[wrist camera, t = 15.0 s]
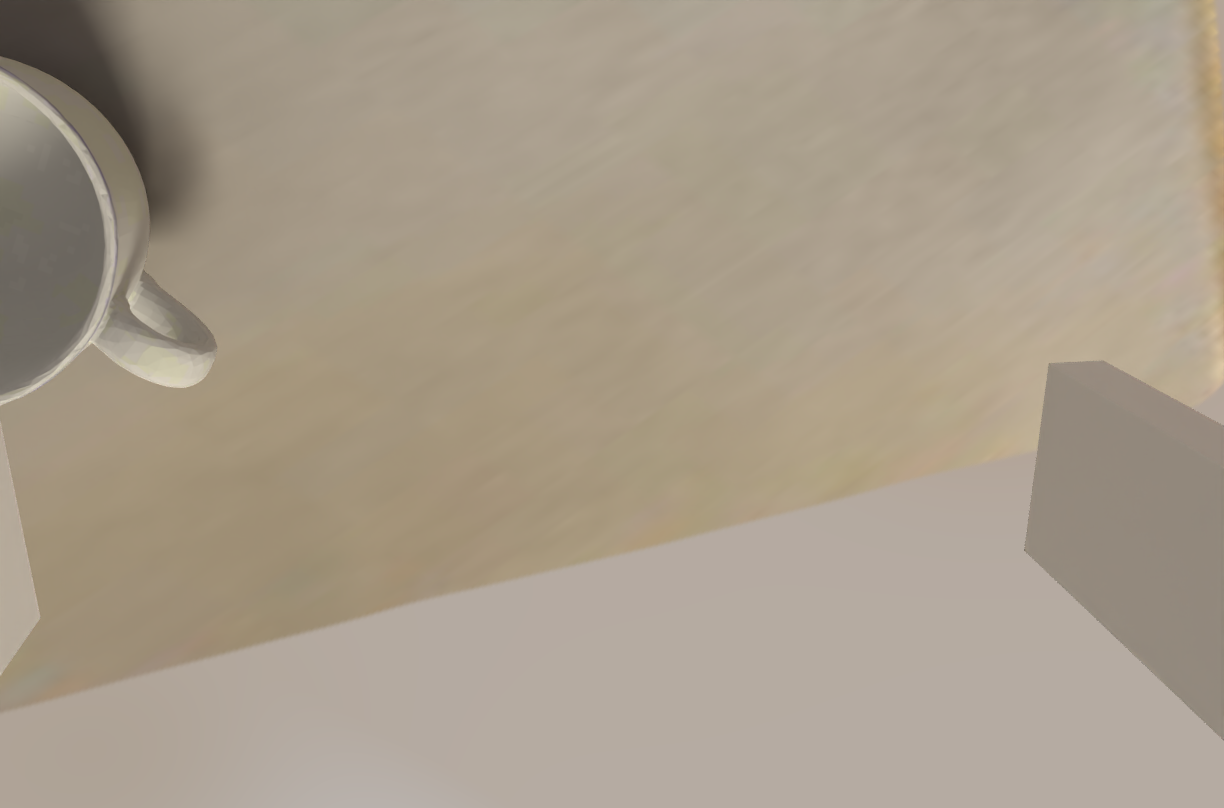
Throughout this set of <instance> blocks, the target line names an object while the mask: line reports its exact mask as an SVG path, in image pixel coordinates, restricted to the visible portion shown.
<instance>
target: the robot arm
mask: <svg viewBox="0 0 1224 808" xmlns="http://www.w3.org/2000/svg"><path fill="white" fill-rule="evenodd" d="M1024 551H1025V552H1026V553H1028V555H1029V556H1030V557H1032V558H1033V559H1034V560H1035V561H1036V562H1037V563H1038V564H1039V565H1040V566H1041V567H1042V568H1043V569H1044V570H1045V571H1046V572H1047V573H1048V574H1049V575H1050V576H1051V577H1053V578H1054V579H1055V580H1056V581H1057V582H1058V583H1059V584H1060V585H1061V586H1062V587H1063V588H1064V589H1065V590H1066V591H1068V593H1069V594H1070V595H1071V596H1073V597H1074V598H1075V599H1076V600H1077V601H1078V602H1079V603H1080V604H1081V605H1082V606H1083V607H1084V608H1085V609H1086V610H1087V611H1088V612H1089V613H1090V614H1091V615H1092V616H1094V617H1095V618H1096V619H1097V620H1098V621H1099V622H1100V623H1101V624H1102V625H1103V626H1104V627H1105V628H1106V629H1107V630H1108V631H1109V632H1110V633H1111V634H1112V635H1114V636H1115V637H1116V638H1117V639H1118V640H1119V641H1120V642H1121V643H1122V644H1123V645H1124V646H1125V647H1126V648H1127V649H1128V650H1129V651H1130V652H1131V653H1132V654H1133V655H1134V656H1135V657H1137V658H1138V659H1139V660H1140V661H1141V662H1142V663H1143V664H1144V665H1145V666H1146V667H1147V668H1148V669H1149V670H1151V672H1152V673H1153V674H1154V675H1155V676H1157V677H1158V678H1159V679H1160V680H1161V681H1162V682H1163V683H1164V684H1165V685H1166V686H1167V687H1168V688H1169V689H1170V690H1171V691H1172V692H1173V693H1174V694H1175V695H1177V696H1178V697H1179V698H1180V699H1181V700H1182V701H1183V702H1184V703H1185V704H1186V705H1187V706H1188V707H1189V708H1190V709H1191V710H1192V711H1193V712H1194V713H1195V714H1196V715H1197V716H1198V717H1200V718H1201V719H1202V720H1203V721H1204V722H1205V723H1206V724H1207V725H1208V726H1209V727H1210V728H1211V729H1212V730H1213V731H1214V732H1215V733H1216V734H1217V735H1218V736H1220V737H1221V738H1222V739H1223V740H1224V426H1223V425H1221V424H1219V423H1218V422H1216V421H1214V420H1212V419H1210V418H1209V417H1207V416H1205V415H1203V414H1201V413H1199V412H1197V411H1196V410H1194V409H1192V408H1190V407H1188V406H1186V405H1184V404H1183V403H1181V402H1179V401H1177V400H1175V399H1173V398H1171V397H1170V396H1168V395H1166V394H1164V393H1162V392H1160V391H1159V390H1157V389H1155V388H1153V387H1151V386H1149V385H1147V384H1146V383H1144V382H1142V381H1140V380H1138V379H1136V378H1134V377H1133V376H1131V375H1129V374H1127V373H1125V372H1123V371H1122V370H1120V369H1118V368H1116V367H1114V366H1112V365H1110V364H1109V363H1107V362H1105V361H1085V362H1064V363H1049V366H1048V374H1047V381H1046V389H1045V396H1044V404H1043V412H1042V419H1041V427H1040V434H1039V442H1038V450H1037V458H1036V465H1035V473H1034V481H1033V488H1032V496H1031V503H1030V511H1029V519H1028V527H1027V534H1026V541H1025V549H1024ZM39 619H40V613H39V608H38V603H37V599H36V594H35V589H34V584H33V579H32V574H31V569H30V564H29V559H28V554H27V550H26V545H25V540H24V535H23V530H22V525H21V520H20V515H19V510H18V505H17V500H16V496H15V491H14V486H13V481H12V476H11V471H10V466H9V461H8V456H7V451H6V447H5V442H4V437H3V432H2V427H1V422H0V675H1V674H2V673H3V671H4V670H5V668H6V667H7V665H8V664H9V663H10V661H11V660H12V658H13V657H14V655H15V654H16V652H17V651H18V650H19V648H20V647H21V645H22V644H23V642H24V641H25V639H26V638H27V637H28V635H29V634H30V632H31V631H32V629H33V628H34V626H35V625H36V624H37V622H38V621H39Z"/></svg>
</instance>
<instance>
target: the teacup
mask: <svg viewBox="0 0 1224 808" xmlns="http://www.w3.org/2000/svg"><path fill="white" fill-rule="evenodd" d="M149 237H150V214H149V205H148V200H147V195H146V190H145V186H144V183H143V180H142V177H141V175H140V172H139V169H138V167H137V165H136V163H135V161H134V159H133V157H132V155H131V153H130V151H129V149H128V148H127V146H126V144H125V143H124V141H123V140H122V138H121V137H120V135H119V134H118V133H117V131H116V130H115V129H114V128H113V126H112V125H111V124H110V123H109V121H108V120H107V119H106V118H105V117H104V116H103V115H102V114H101V113H100V112H99V111H98V110H97V109H96V107H94V106H93V105H92V104H91V103H90V102H89V101H87V100H86V99H85V98H84V97H83V96H82V95H80V94H79V93H78V92H76V91H75V90H73V89H72V88H70V87H69V86H67V85H66V84H65V83H63V82H61V81H60V80H58V79H56V78H54V77H53V76H51V75H49V74H47V73H45V72H43V71H40V70H38V69H36V68H34V67H31V66H29V65H26V64H23V63H21V62H18V61H15V60H12V59H8V58H4V57H1V56H0V405H3V404H5V403H8V402H10V401H12V400H15V399H18V398H21V397H23V396H25V395H27V394H29V393H31V392H33V391H35V390H36V389H38V388H39V387H41V386H42V385H44V384H46V383H47V382H49V381H50V380H51V379H52V378H54V377H55V376H56V375H58V374H59V373H60V372H61V371H62V370H63V369H64V368H65V367H66V366H67V365H68V364H69V363H70V362H72V361H73V360H74V359H75V358H76V357H77V356H78V354H79V353H80V352H82V351H83V350H84V349H85V348H86V347H88V346H89V345H90V344H91V343H93V344H94V345H95V346H96V347H98V348H99V349H100V350H101V351H102V352H103V353H104V354H106V355H107V356H108V357H109V358H110V359H111V360H113V361H114V362H116V363H117V364H118V365H120V366H121V367H122V368H124V369H126V370H128V371H129V372H131V373H133V374H135V375H136V376H139V377H141V378H143V379H146V380H148V381H150V382H153V383H157V384H160V385H163V386H167V387H180V388H185V387H189V386H192V385H195V384H197V383H198V382H200V381H201V380H202V379H204V378H205V376H206V375H207V373H208V372H209V370H210V369H211V366H212V364H213V362H214V360H215V357H216V352H217V345H216V342H215V339H214V336H213V335H212V333H211V332H210V330H209V329H208V328H207V327H206V326H205V325H204V324H203V323H202V322H201V321H200V319H199V318H197V317H196V316H195V315H194V314H193V313H192V312H191V311H189V310H188V309H187V308H186V307H185V306H183V305H182V304H181V303H180V302H178V301H177V300H176V299H175V298H173V297H172V296H171V295H169V294H168V293H167V292H166V291H164V290H163V289H162V288H160V287H159V285H158V284H157V283H156V281H155V280H154V279H153V278H152V277H151V276H150V275H148V274H147V273H146V272H145V271H144V266H145V262H146V258H147V252H148V245H149Z"/></svg>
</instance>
